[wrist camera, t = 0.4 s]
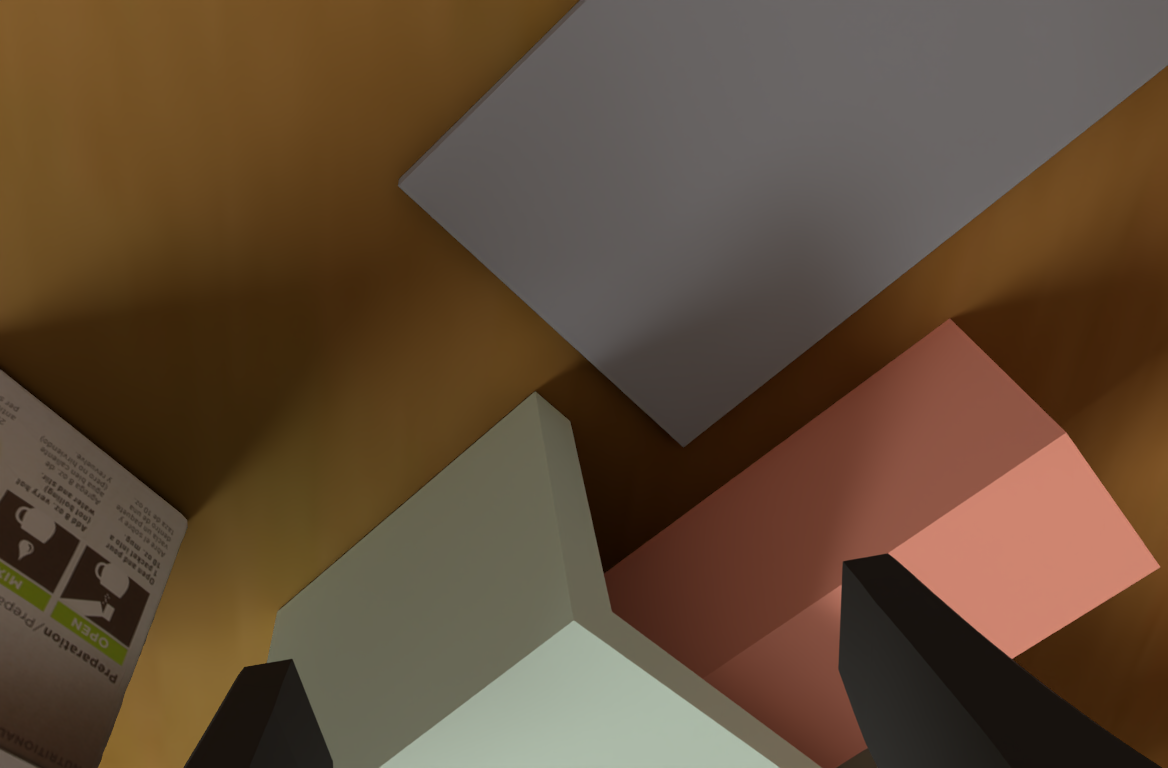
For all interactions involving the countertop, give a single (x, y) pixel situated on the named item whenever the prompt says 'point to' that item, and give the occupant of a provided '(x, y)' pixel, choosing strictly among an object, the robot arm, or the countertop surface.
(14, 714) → the coffee box
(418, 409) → the countertop surface
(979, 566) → the plain pink rectangular block
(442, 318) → the countertop surface
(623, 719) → the shelf cubby
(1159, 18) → the mat
